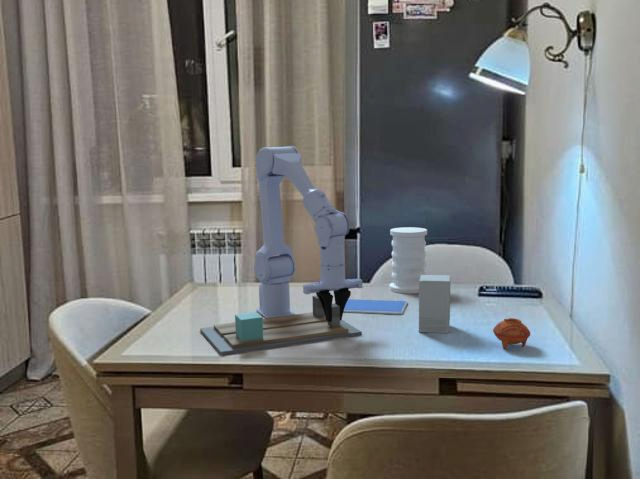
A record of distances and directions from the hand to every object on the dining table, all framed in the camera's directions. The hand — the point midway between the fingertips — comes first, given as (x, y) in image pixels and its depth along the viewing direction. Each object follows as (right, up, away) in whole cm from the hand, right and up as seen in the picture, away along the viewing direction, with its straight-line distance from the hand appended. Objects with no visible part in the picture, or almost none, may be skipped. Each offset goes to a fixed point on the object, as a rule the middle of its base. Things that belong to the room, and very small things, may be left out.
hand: (333, 320), depth 167 cm
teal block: (-19, -3, -8) cm, 21 cm away
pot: (+39, -5, -13) cm, 41 cm away
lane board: (-13, -3, +1) cm, 13 cm away
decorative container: (+23, +4, +43) cm, 49 cm away
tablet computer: (+10, 0, +23) cm, 25 cm away
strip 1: (-15, -3, +5) cm, 16 cm away
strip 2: (-11, -4, -4) cm, 12 cm away
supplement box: (+24, -3, +2) cm, 25 cm away
